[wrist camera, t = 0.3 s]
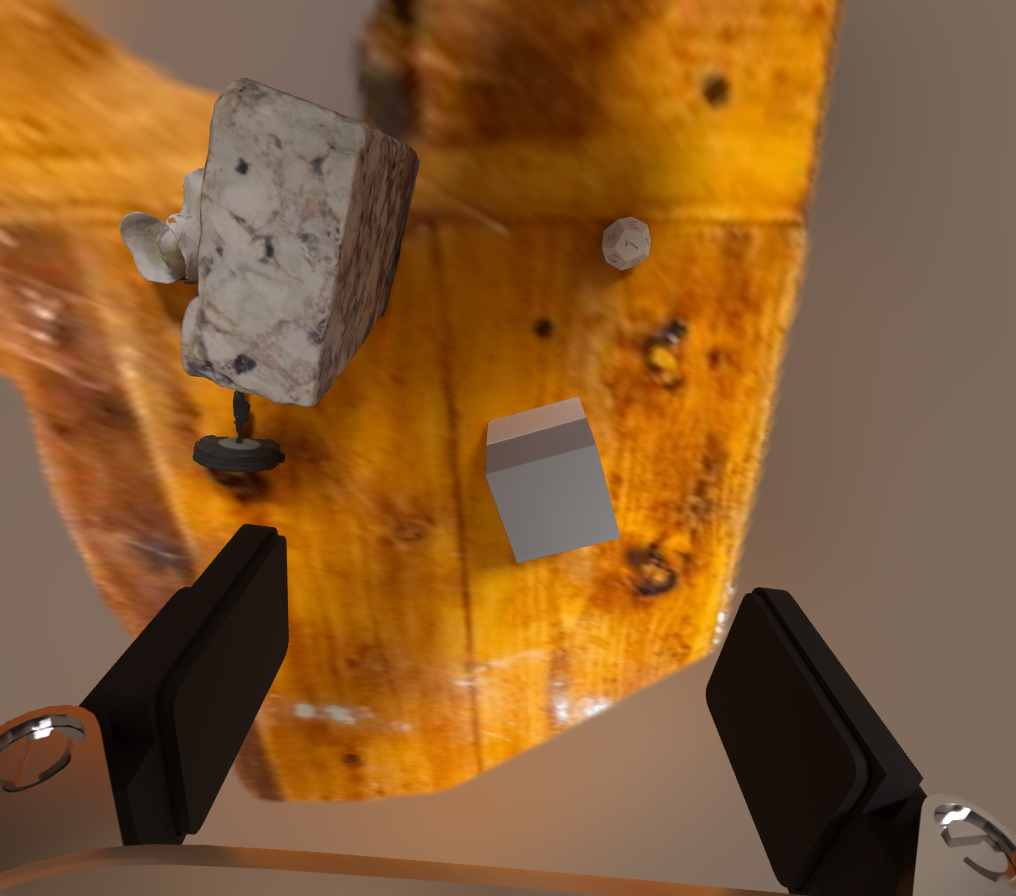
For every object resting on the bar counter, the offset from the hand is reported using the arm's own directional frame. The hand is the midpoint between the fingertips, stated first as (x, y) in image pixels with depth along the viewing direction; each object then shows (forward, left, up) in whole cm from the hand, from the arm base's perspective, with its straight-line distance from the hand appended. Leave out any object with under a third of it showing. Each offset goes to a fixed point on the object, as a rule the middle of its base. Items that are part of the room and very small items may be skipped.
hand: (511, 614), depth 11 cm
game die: (-2, +9, -35) cm, 37 cm away
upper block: (+13, 0, -30) cm, 33 cm away
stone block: (-8, -9, -35) cm, 37 cm away
